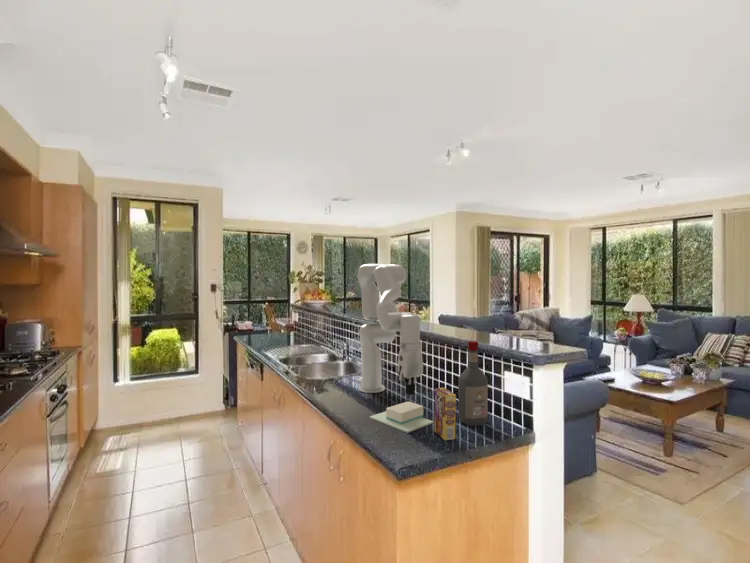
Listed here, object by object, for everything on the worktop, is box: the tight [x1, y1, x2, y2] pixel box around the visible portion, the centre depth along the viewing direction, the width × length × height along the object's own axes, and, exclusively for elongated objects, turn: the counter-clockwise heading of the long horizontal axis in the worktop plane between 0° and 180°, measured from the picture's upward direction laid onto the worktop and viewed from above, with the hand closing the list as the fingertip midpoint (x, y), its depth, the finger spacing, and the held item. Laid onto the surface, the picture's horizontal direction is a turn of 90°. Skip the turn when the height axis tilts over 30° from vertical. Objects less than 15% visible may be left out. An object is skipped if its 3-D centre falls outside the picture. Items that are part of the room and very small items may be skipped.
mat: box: [369, 410, 435, 434], centre depth 155 cm, size 20×14×1 cm
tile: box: [385, 401, 424, 424], centre depth 157 cm, size 8×4×12 cm
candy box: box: [433, 387, 457, 441], centre depth 141 cm, size 9×4×15 cm, turn 14°
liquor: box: [458, 340, 489, 427], centre depth 153 cm, size 9×9×30 cm
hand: (410, 393), depth 158 cm, fingers closed
